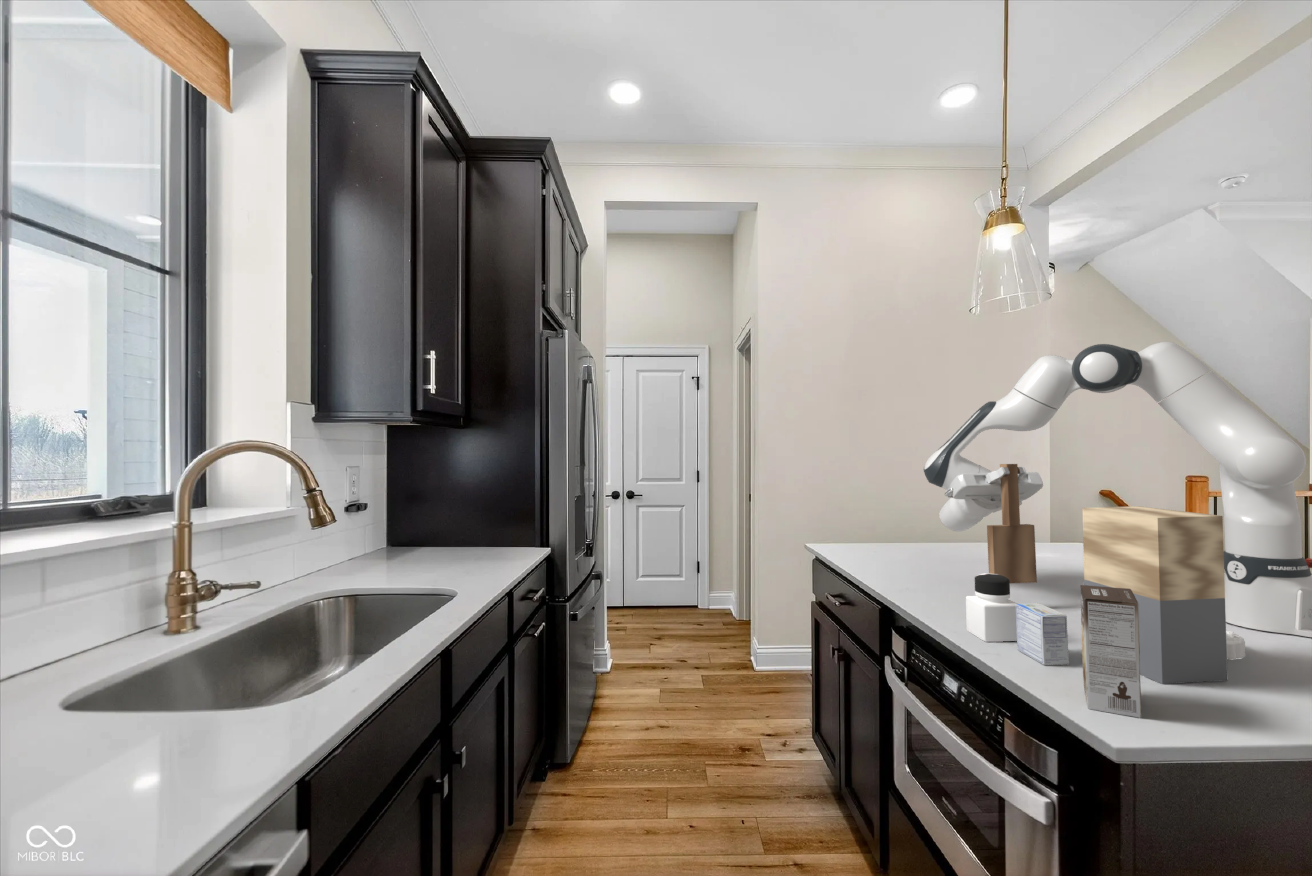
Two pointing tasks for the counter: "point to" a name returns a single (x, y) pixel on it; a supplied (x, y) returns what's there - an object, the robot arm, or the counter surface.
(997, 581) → the medicine bottle
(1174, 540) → the tower top block
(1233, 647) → the mooncake
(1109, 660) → the coffee box
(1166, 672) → the tower base block
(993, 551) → the walnut board
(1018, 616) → the medicine box
